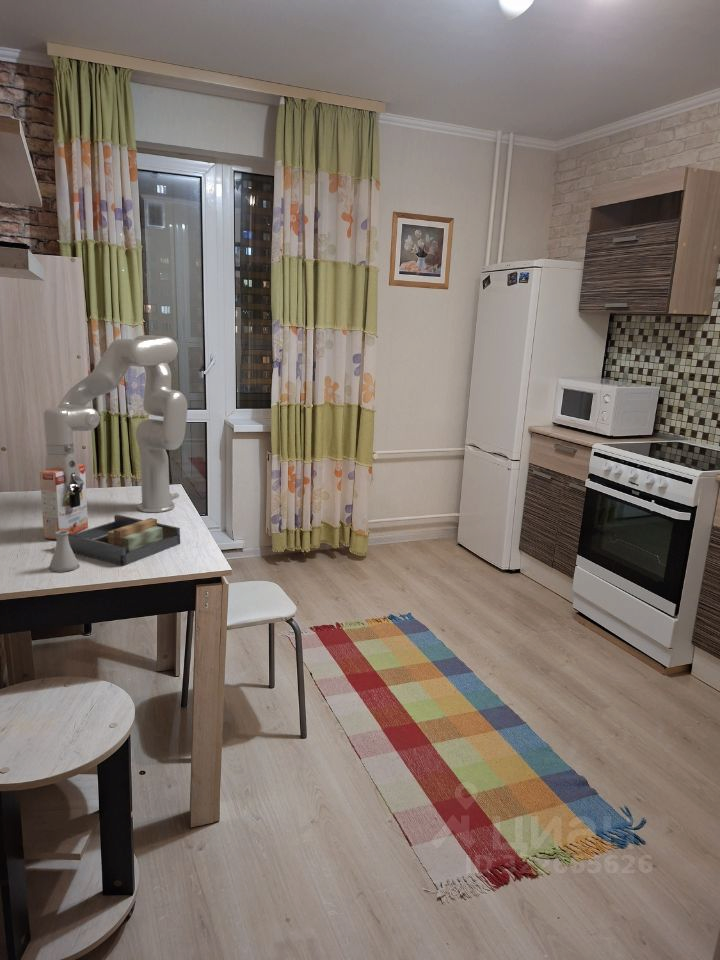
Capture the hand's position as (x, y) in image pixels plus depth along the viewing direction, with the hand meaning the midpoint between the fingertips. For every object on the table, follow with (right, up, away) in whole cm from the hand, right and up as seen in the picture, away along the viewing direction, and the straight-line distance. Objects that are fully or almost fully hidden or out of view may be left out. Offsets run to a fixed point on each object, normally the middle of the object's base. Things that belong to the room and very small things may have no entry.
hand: (64, 504), depth 200 cm
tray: (+20, -12, -8) cm, 25 cm away
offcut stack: (+26, -13, -11) cm, 31 cm away
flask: (+12, -16, -26) cm, 33 cm away
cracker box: (0, -9, +2) cm, 10 cm away
